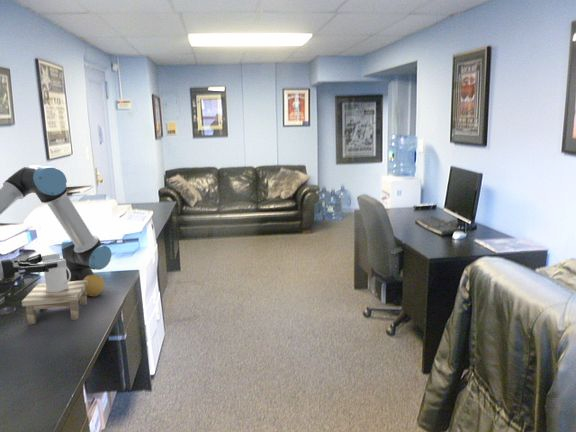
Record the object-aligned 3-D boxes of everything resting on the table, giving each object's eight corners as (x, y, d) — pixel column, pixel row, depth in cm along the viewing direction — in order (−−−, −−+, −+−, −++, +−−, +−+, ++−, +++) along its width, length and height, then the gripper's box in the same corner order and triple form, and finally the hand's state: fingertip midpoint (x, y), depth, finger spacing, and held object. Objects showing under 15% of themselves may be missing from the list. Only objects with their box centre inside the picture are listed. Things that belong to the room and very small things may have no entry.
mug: (79, 287, 193) (75, 260, 191) (62, 294, 186) (58, 265, 183) (58, 284, 198) (55, 257, 195) (41, 290, 190) (37, 262, 188)
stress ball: (108, 295, 213) (103, 278, 219) (104, 285, 206) (100, 267, 211) (85, 302, 210) (81, 284, 215) (81, 292, 202) (76, 273, 207)
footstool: (40, 306, 200) (37, 284, 198) (89, 301, 204) (87, 280, 202) (25, 325, 181) (21, 301, 179) (79, 320, 185) (76, 296, 183)
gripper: (-1, 271, 188) (57, 261, 201) (6, 287, 169) (70, 275, 182) (-4, 254, 187) (55, 244, 199) (3, 268, 168) (68, 256, 180)
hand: (62, 259), depth 191 cm, fingers open, 12 cm apart
